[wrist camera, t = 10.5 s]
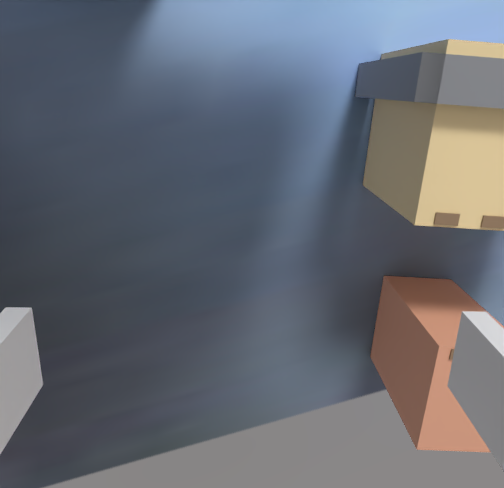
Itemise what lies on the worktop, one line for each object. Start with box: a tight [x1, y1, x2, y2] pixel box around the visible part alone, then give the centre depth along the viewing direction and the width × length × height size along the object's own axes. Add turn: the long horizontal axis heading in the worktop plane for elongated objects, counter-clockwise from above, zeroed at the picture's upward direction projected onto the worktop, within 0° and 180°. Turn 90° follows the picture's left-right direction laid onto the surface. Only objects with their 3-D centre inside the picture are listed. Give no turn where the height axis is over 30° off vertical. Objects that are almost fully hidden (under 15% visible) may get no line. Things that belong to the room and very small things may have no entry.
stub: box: [370, 276, 504, 452], centre depth 38 cm, size 8×6×12 cm
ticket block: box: [355, 39, 504, 231], centre depth 32 cm, size 10×15×13 cm, turn 86°
